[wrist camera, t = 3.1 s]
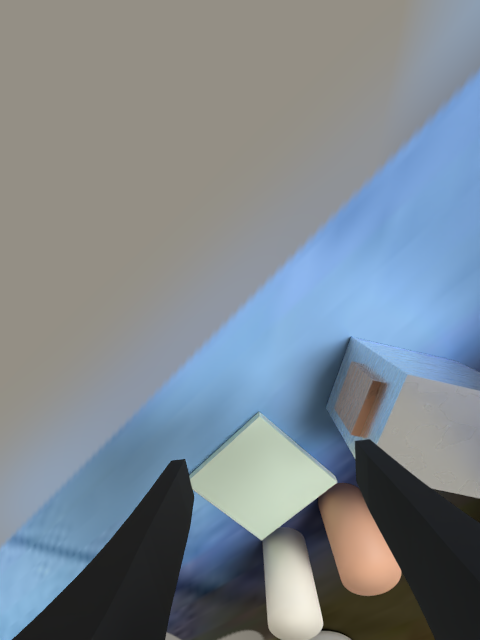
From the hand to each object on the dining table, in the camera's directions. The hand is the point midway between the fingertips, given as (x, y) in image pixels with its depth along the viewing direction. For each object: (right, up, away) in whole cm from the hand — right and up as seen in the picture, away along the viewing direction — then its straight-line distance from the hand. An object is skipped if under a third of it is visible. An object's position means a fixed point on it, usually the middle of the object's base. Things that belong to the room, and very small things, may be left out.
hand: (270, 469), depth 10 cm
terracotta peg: (+8, -10, +11) cm, 16 cm away
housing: (+10, +1, +8) cm, 13 cm away
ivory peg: (+3, -15, +12) cm, 19 cm away
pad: (0, -7, +10) cm, 12 cm away
